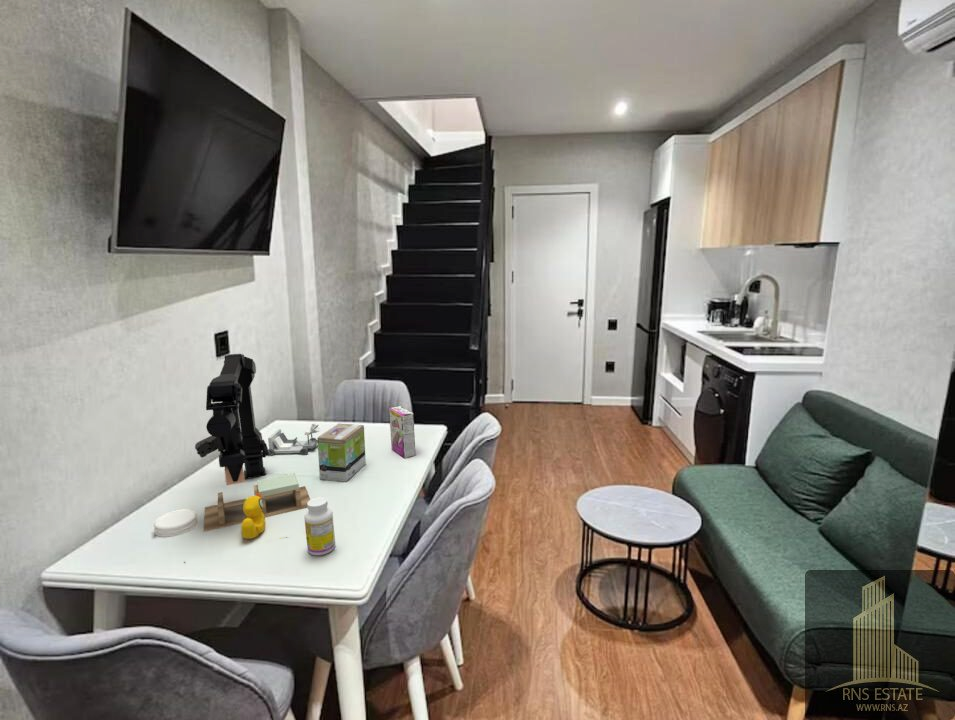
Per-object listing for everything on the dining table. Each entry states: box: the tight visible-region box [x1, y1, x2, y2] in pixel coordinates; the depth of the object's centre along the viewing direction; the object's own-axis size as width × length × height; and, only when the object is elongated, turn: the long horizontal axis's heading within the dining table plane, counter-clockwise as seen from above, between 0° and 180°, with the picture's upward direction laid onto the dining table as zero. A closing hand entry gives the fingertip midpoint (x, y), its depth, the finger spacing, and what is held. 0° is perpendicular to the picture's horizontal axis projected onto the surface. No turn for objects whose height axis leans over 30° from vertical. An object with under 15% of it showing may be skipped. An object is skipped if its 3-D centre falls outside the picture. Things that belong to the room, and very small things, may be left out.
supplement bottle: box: [304, 496, 336, 556], centre depth 123 cm, size 7×7×13 cm
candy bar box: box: [388, 405, 417, 459], centre depth 183 cm, size 11×5×16 cm, turn 34°
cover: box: [256, 472, 300, 497], centre depth 146 cm, size 8×11×2 cm
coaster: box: [153, 508, 199, 538], centre depth 135 cm, size 10×10×4 cm
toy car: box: [267, 423, 321, 457], centre depth 189 cm, size 18×10×12 cm
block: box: [224, 465, 245, 486], centre depth 140 cm, size 4×4×4 cm
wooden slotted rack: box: [203, 484, 311, 533], centre depth 144 cm, size 15×28×6 cm, turn 117°
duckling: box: [240, 493, 266, 540], centre depth 131 cm, size 11×5×10 cm, turn 6°
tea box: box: [316, 423, 367, 482], centre depth 168 cm, size 15×10×15 cm, turn 168°
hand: (235, 478), depth 140 cm, fingers closed on block, 4 cm apart
